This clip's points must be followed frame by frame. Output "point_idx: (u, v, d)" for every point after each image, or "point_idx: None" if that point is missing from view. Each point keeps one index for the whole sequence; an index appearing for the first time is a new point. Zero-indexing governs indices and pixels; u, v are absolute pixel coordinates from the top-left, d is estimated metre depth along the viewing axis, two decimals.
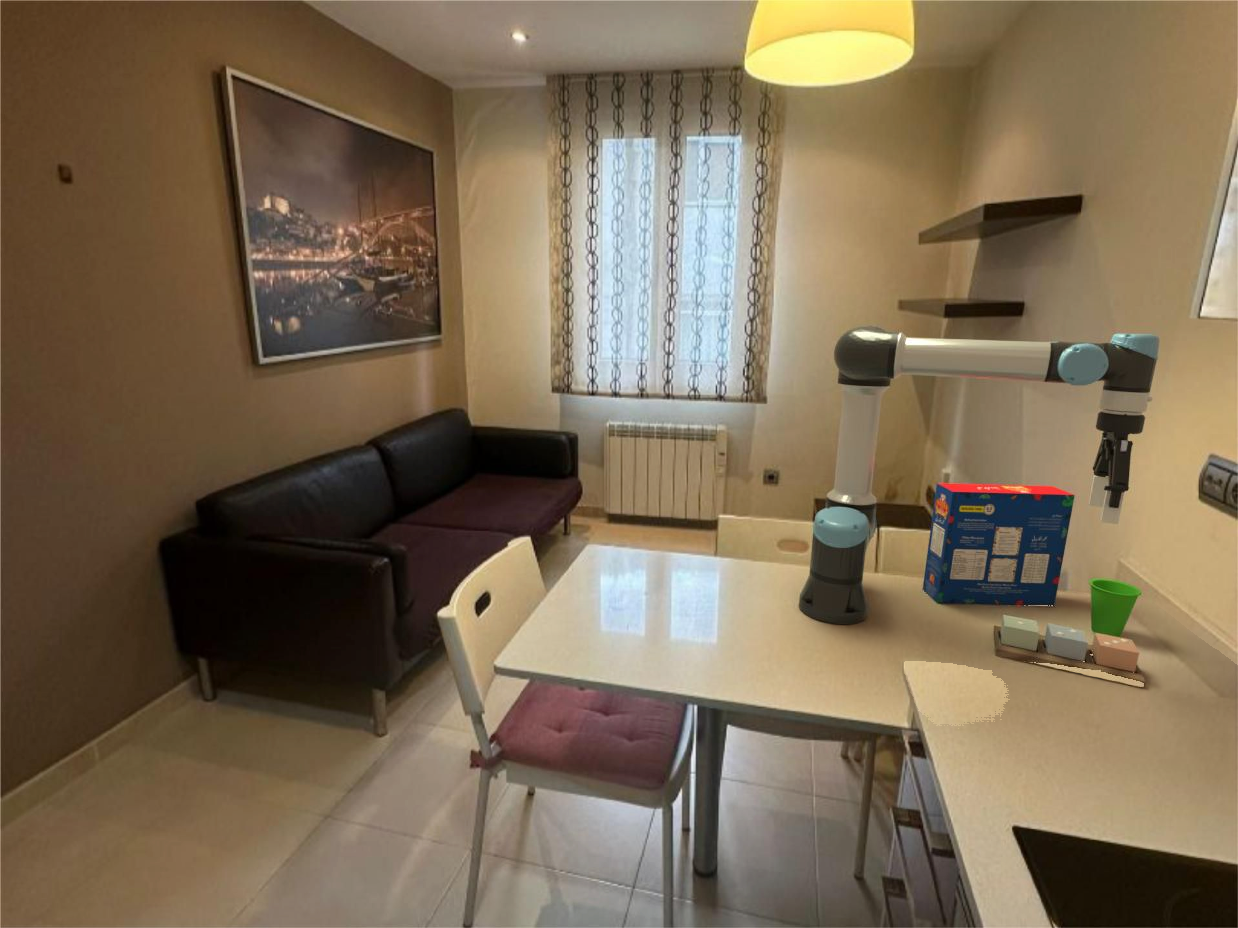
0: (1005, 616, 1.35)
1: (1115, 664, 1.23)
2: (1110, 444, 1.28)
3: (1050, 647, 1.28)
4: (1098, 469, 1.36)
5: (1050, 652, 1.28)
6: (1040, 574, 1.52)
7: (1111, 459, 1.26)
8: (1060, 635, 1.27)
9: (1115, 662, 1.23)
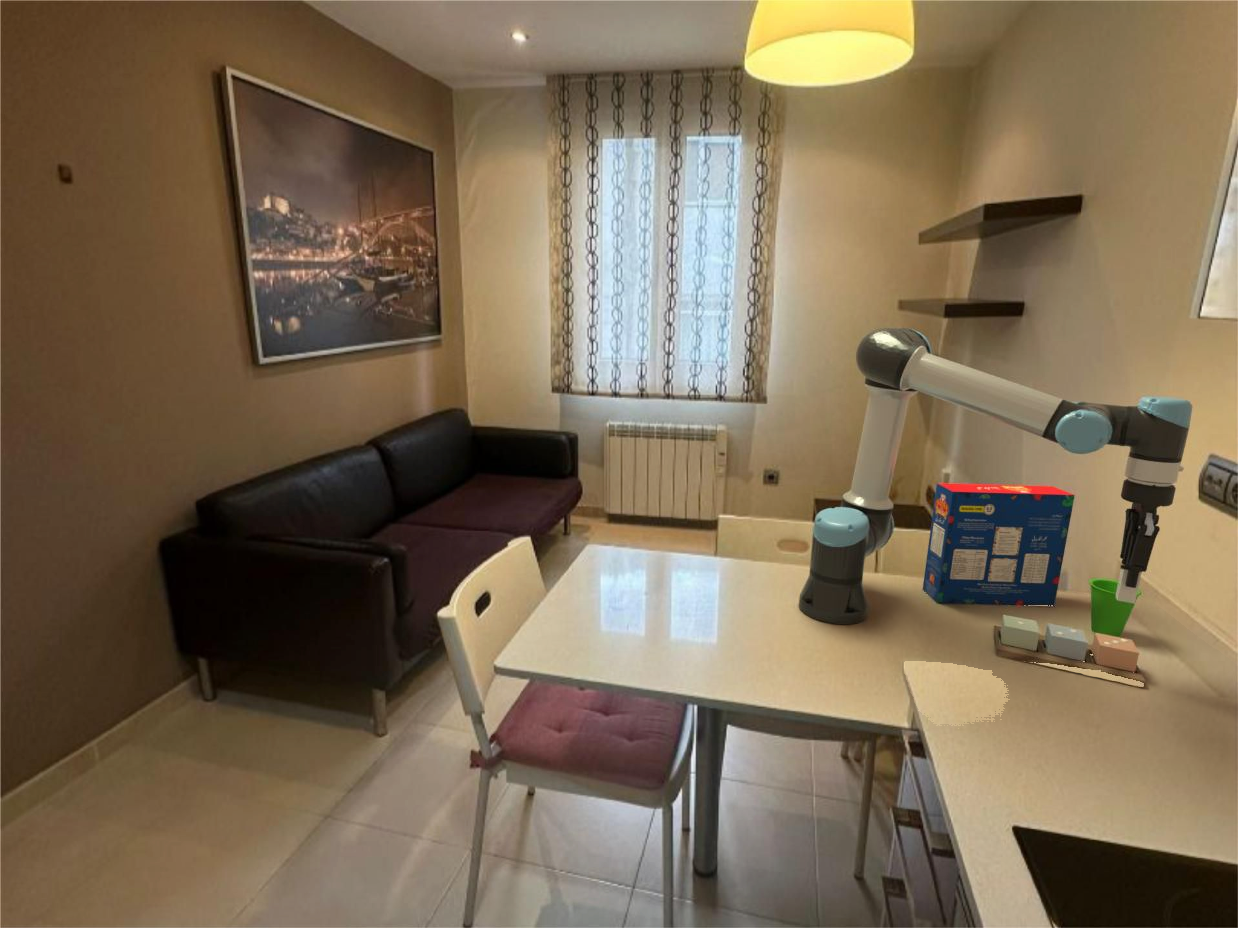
0: (1005, 616, 1.35)
1: (1115, 664, 1.23)
2: (1136, 518, 1.18)
3: (1050, 647, 1.28)
4: (1127, 553, 1.22)
5: (1050, 652, 1.28)
6: (1040, 574, 1.52)
7: (1134, 536, 1.19)
8: (1060, 635, 1.27)
9: (1115, 662, 1.23)
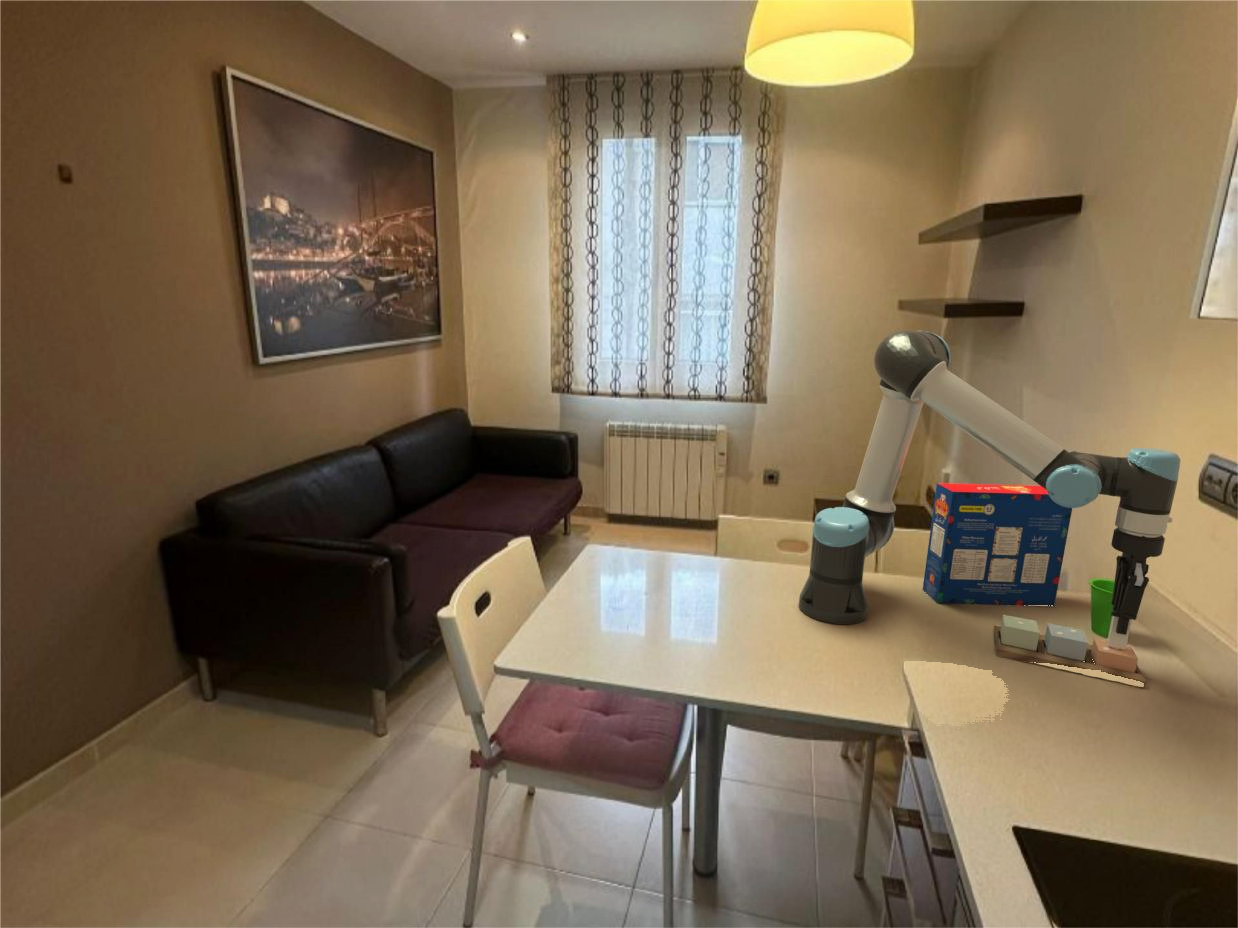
0: (1005, 616, 1.35)
1: None
2: (1126, 567, 1.20)
3: (1050, 647, 1.28)
4: (1118, 601, 1.24)
5: (1050, 652, 1.28)
6: (1040, 574, 1.52)
7: (1124, 585, 1.21)
8: (1060, 635, 1.27)
9: (1114, 667, 1.23)
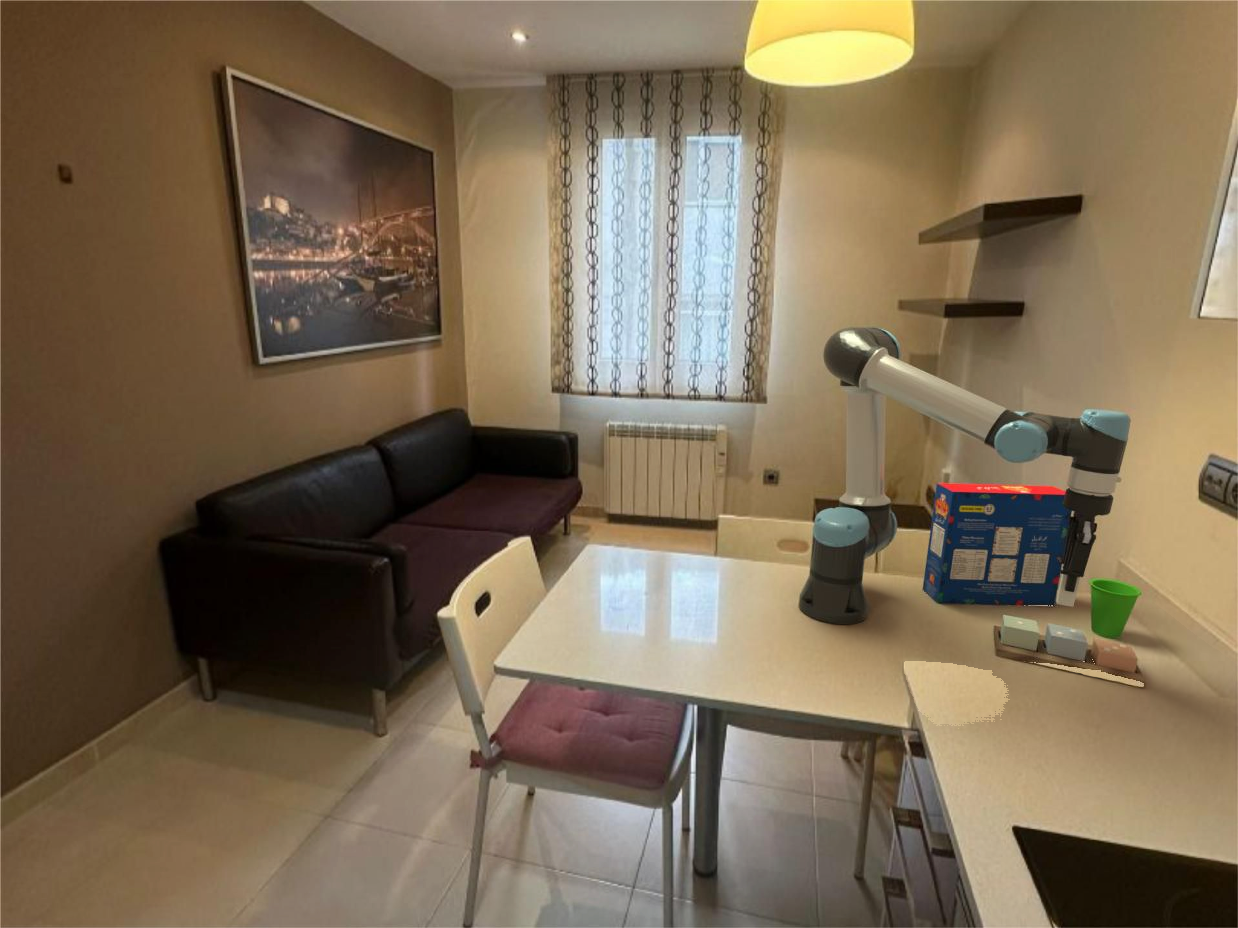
0: (1005, 616, 1.35)
1: None
2: (1076, 526, 1.23)
3: (1050, 647, 1.28)
4: (1067, 559, 1.27)
5: (1050, 652, 1.28)
6: (1040, 574, 1.52)
7: (1073, 543, 1.24)
8: (1060, 635, 1.27)
9: (1114, 667, 1.23)
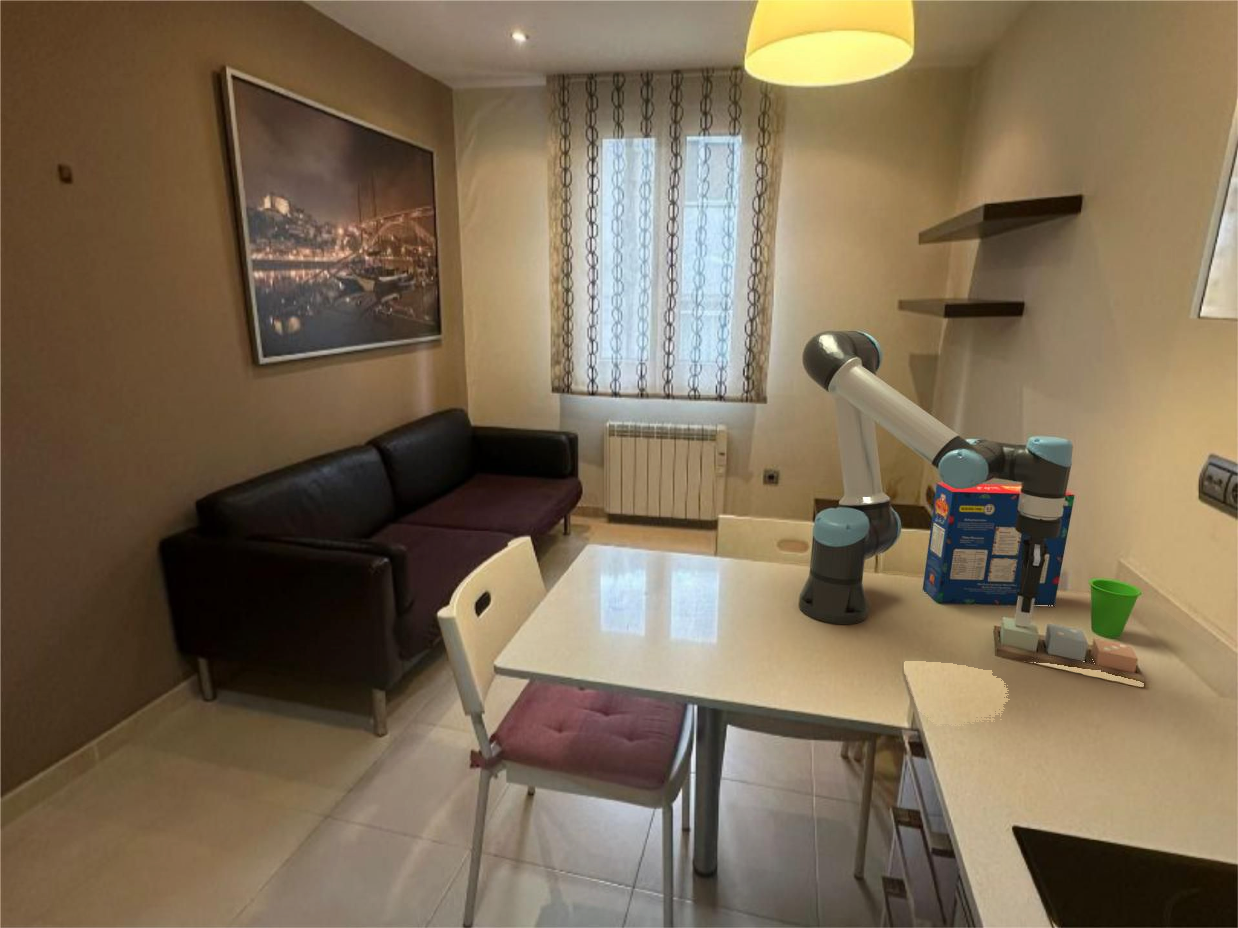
0: (1005, 618, 1.35)
1: None
2: (1027, 549, 1.27)
3: (1050, 647, 1.28)
4: None
5: (1050, 652, 1.28)
6: None
7: (1026, 565, 1.28)
8: (1060, 635, 1.27)
9: (1114, 667, 1.23)
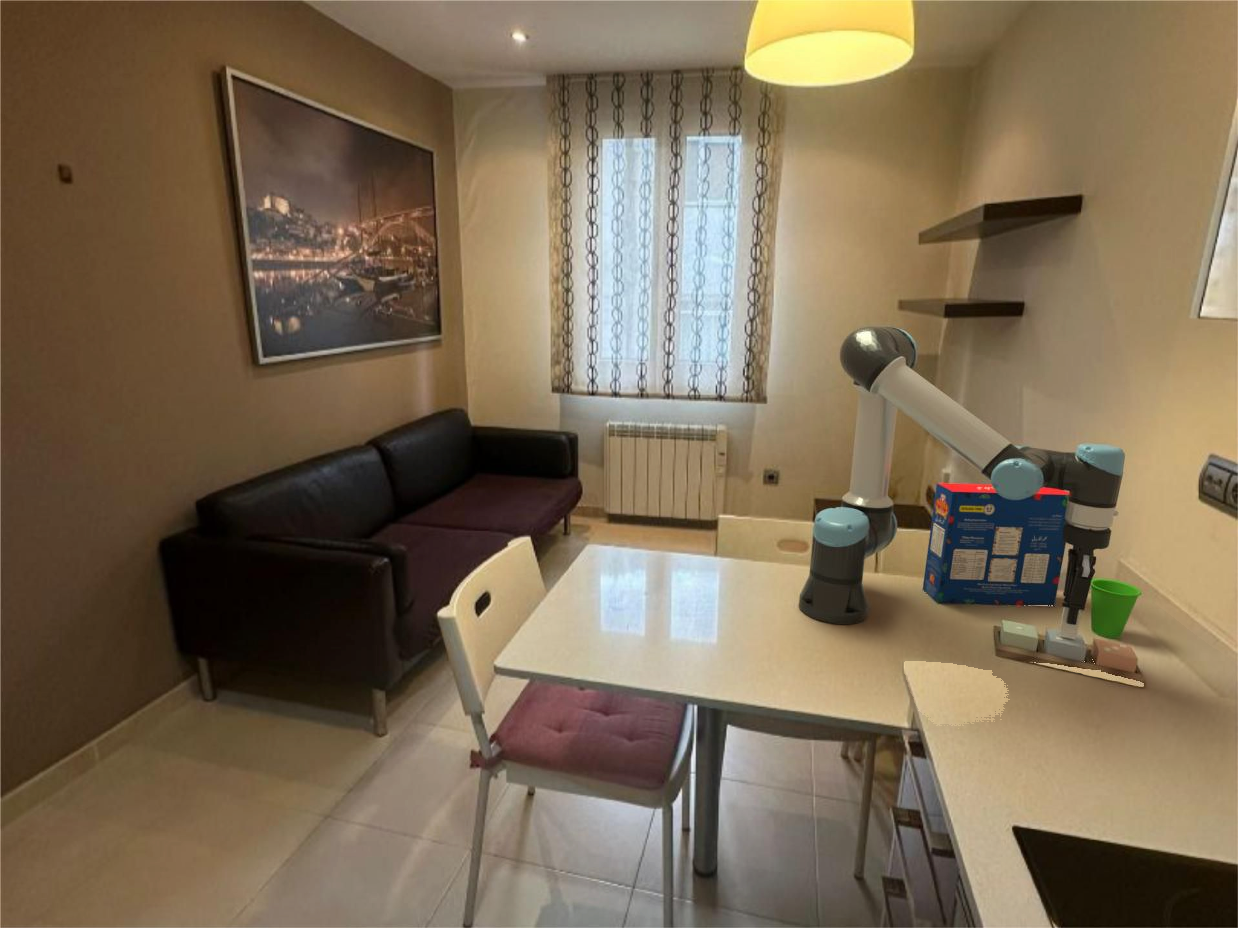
0: (1004, 621, 1.35)
1: None
2: (1075, 559, 1.24)
3: (1049, 652, 1.28)
4: (1068, 592, 1.28)
5: None
6: (1040, 574, 1.52)
7: (1073, 576, 1.25)
8: (1059, 641, 1.27)
9: (1114, 667, 1.23)
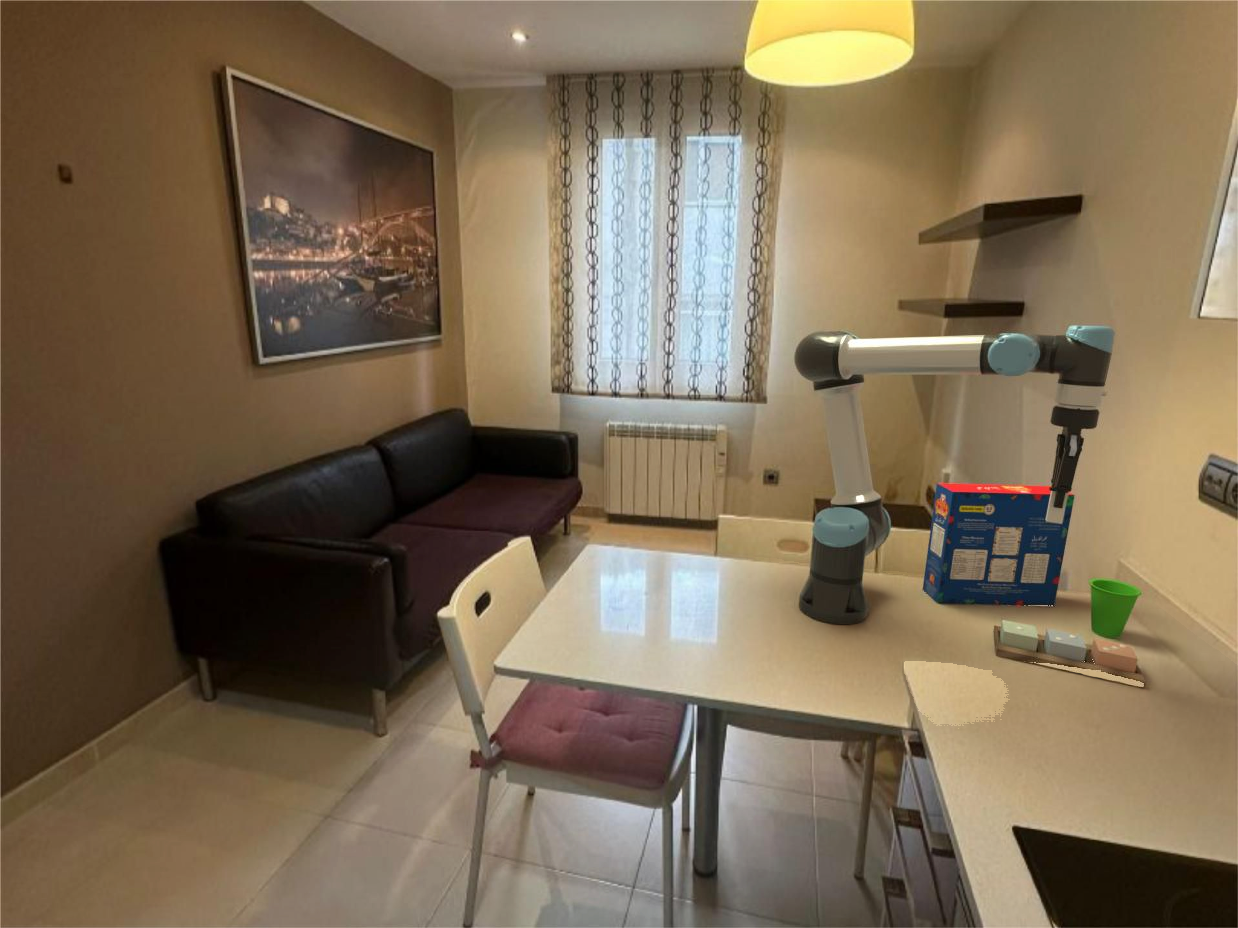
0: (1004, 621, 1.35)
1: None
2: (1063, 441, 1.25)
3: (1049, 652, 1.28)
4: (1056, 477, 1.29)
5: None
6: (1040, 574, 1.52)
7: (1061, 459, 1.26)
8: (1059, 641, 1.27)
9: (1114, 667, 1.23)
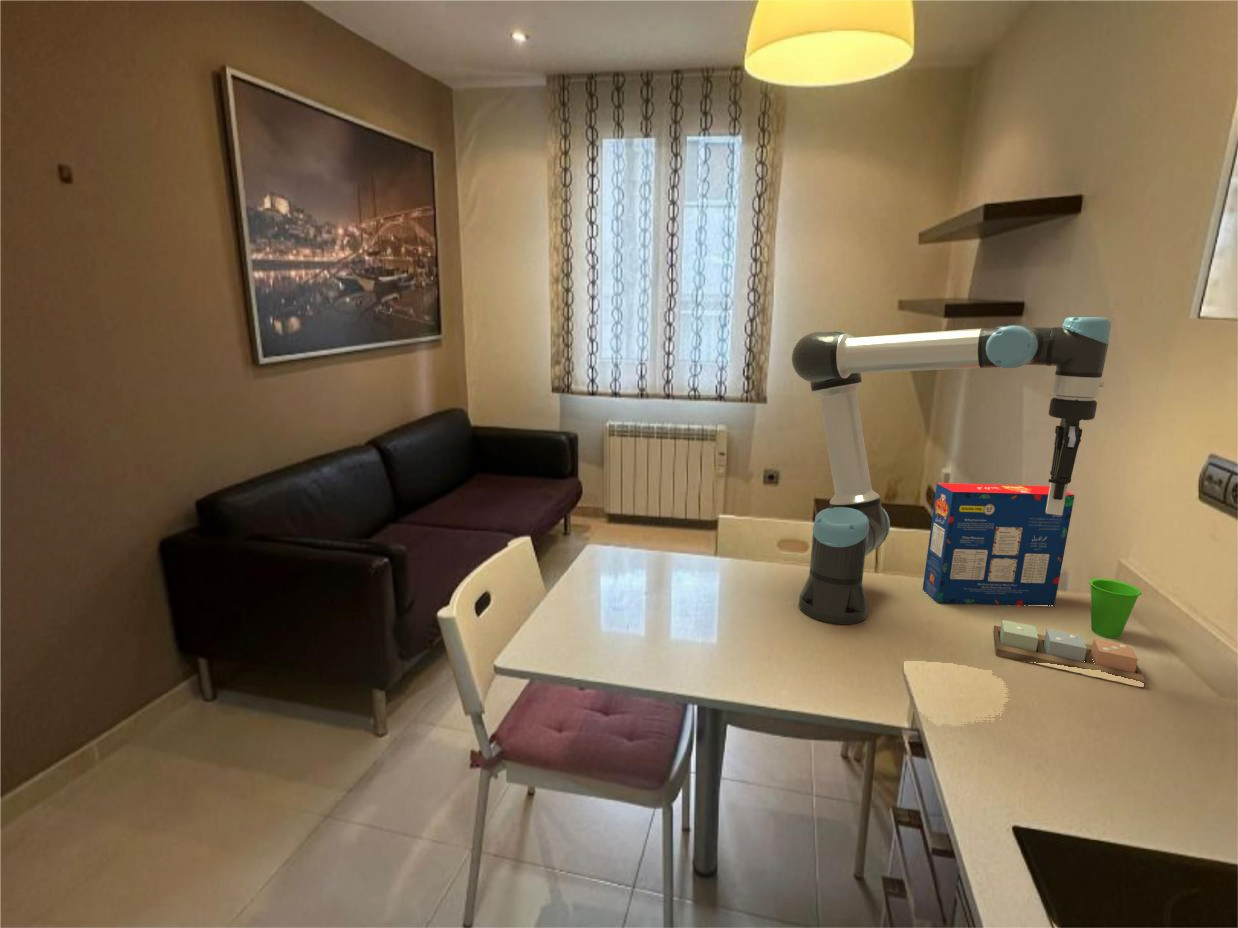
0: (1004, 621, 1.35)
1: None
2: (1061, 433, 1.25)
3: (1049, 652, 1.28)
4: (1055, 469, 1.29)
5: None
6: (1040, 574, 1.52)
7: (1060, 450, 1.26)
8: (1059, 641, 1.27)
9: (1114, 667, 1.23)
